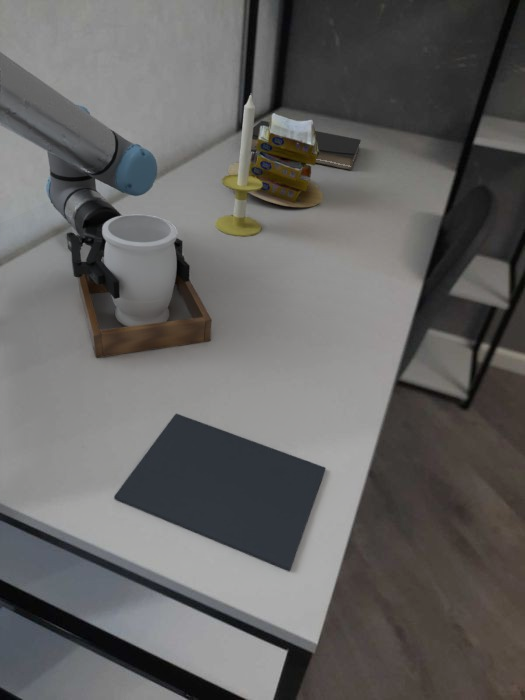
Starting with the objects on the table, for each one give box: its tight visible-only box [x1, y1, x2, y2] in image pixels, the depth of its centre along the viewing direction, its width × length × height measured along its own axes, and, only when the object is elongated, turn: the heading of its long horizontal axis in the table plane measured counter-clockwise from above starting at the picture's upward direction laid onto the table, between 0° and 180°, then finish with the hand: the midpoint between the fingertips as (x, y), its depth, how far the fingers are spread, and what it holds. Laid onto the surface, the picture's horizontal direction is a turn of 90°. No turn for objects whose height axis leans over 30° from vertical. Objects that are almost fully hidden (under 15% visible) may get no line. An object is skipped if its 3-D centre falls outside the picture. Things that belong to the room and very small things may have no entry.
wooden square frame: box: [77, 274, 213, 358], centre depth 82 cm, size 17×18×4 cm
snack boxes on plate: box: [227, 112, 324, 208], centre depth 128 cm, size 25×25×17 cm
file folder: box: [251, 120, 362, 171], centre depth 162 cm, size 33×4×24 cm
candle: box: [215, 94, 263, 238], centre depth 105 cm, size 10×10×27 cm
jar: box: [102, 213, 178, 327], centre depth 78 cm, size 11×10×15 cm
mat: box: [113, 413, 326, 572], centre depth 59 cm, size 20×14×1 cm
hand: (153, 281), depth 75 cm, fingers closed on jar, 10 cm apart
